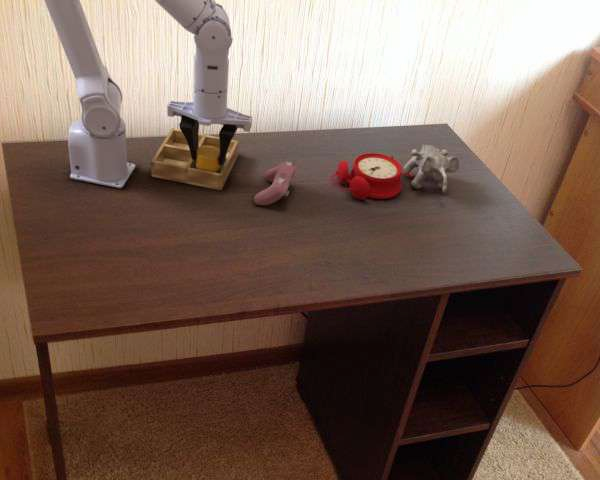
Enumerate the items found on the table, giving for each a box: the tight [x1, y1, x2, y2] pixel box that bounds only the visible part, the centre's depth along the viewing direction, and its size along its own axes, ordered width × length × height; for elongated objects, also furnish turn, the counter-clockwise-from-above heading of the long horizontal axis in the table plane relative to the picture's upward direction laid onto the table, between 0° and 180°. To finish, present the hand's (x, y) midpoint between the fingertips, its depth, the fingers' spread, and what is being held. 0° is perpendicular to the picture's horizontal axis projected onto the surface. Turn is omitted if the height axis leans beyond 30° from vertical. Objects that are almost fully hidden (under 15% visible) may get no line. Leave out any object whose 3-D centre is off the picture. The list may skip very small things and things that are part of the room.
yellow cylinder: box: [196, 145, 221, 172], centre depth 135 cm, size 4×4×3 cm
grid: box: [150, 127, 240, 191], centre depth 139 cm, size 13×13×3 cm
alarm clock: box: [330, 152, 414, 201], centre depth 141 cm, size 10×6×15 cm
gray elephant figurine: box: [402, 144, 460, 194], centre depth 142 cm, size 9×12×8 cm
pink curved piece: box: [253, 160, 298, 206], centre depth 135 cm, size 10×5×7 cm, turn 169°
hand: (208, 159), depth 136 cm, fingers closed on yellow cylinder, 4 cm apart
